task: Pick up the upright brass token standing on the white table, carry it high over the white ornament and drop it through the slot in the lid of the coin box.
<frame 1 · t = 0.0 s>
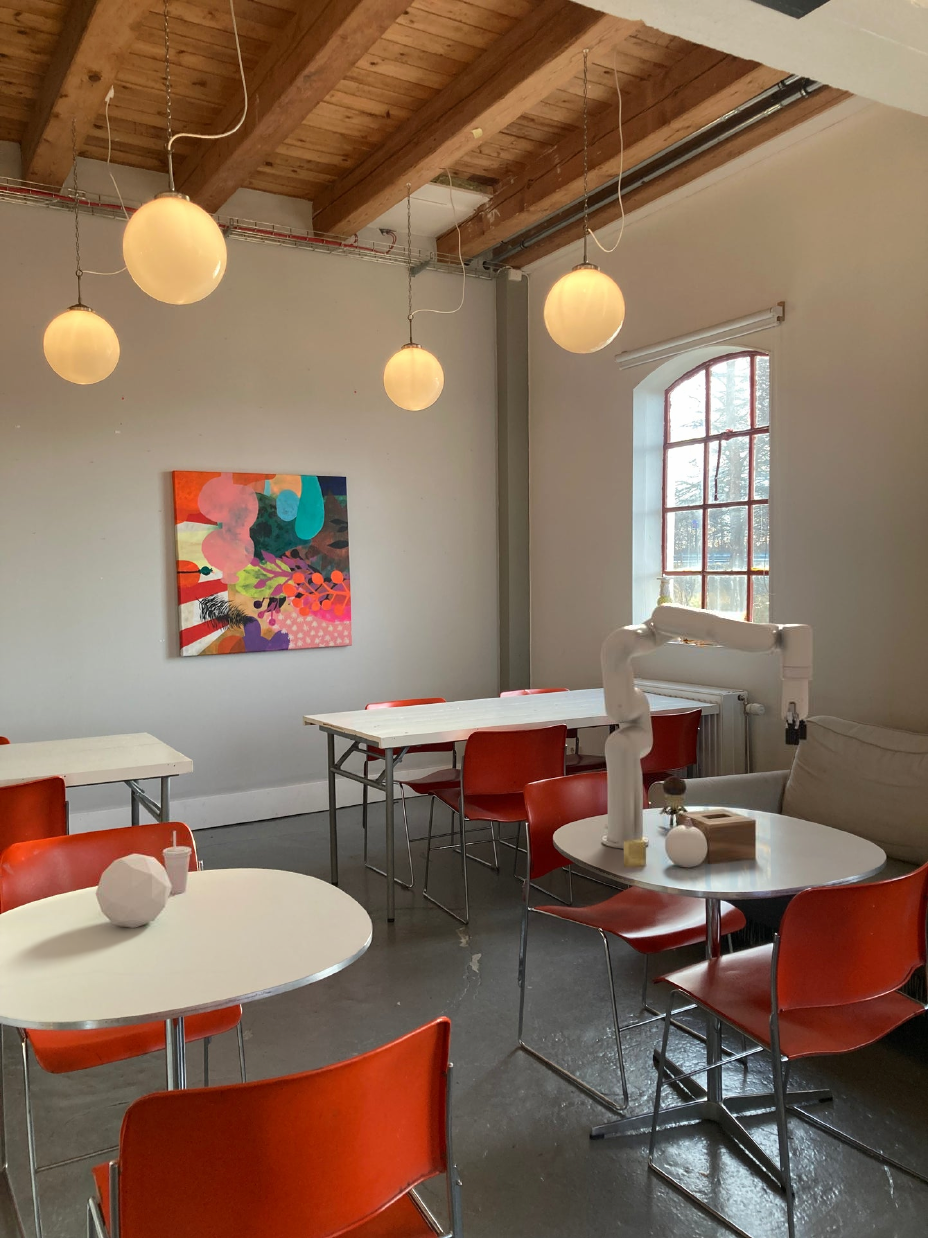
hand: (796, 742, 228), 31 cm above the table, tool pointing down, fingers open, 9 cm apart
coin box: (716, 854, 240), on the table
toy: (674, 825, 271), on the table
smoothie: (177, 892, 211), on the table
ornament: (686, 867, 229), on the table
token: (634, 865, 231), on the table
geometric shape: (134, 924, 190), on the table
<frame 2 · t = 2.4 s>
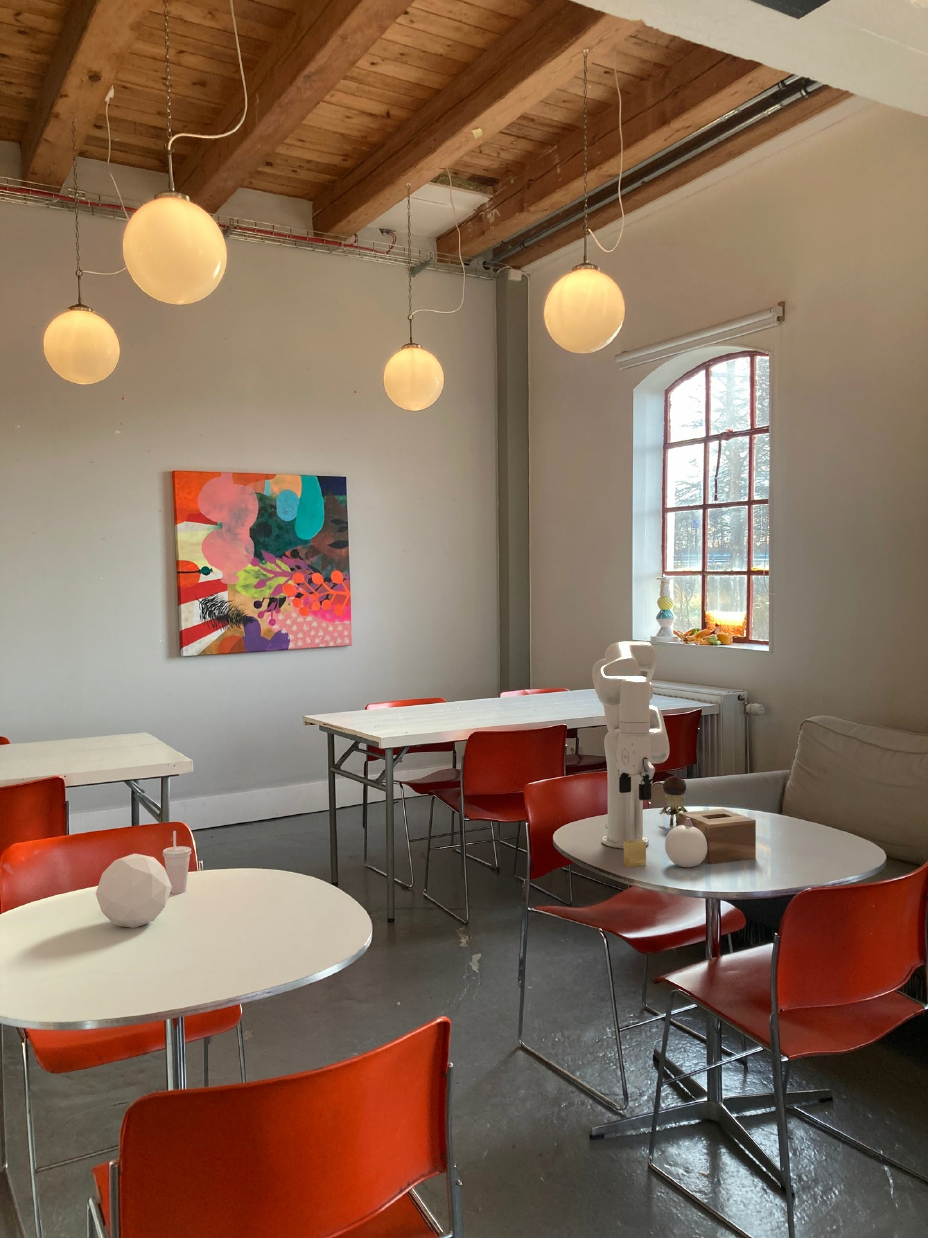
hand: (634, 796, 230), 17 cm above the table, tool pointing down, fingers open, 9 cm apart
nothing on the table moved.
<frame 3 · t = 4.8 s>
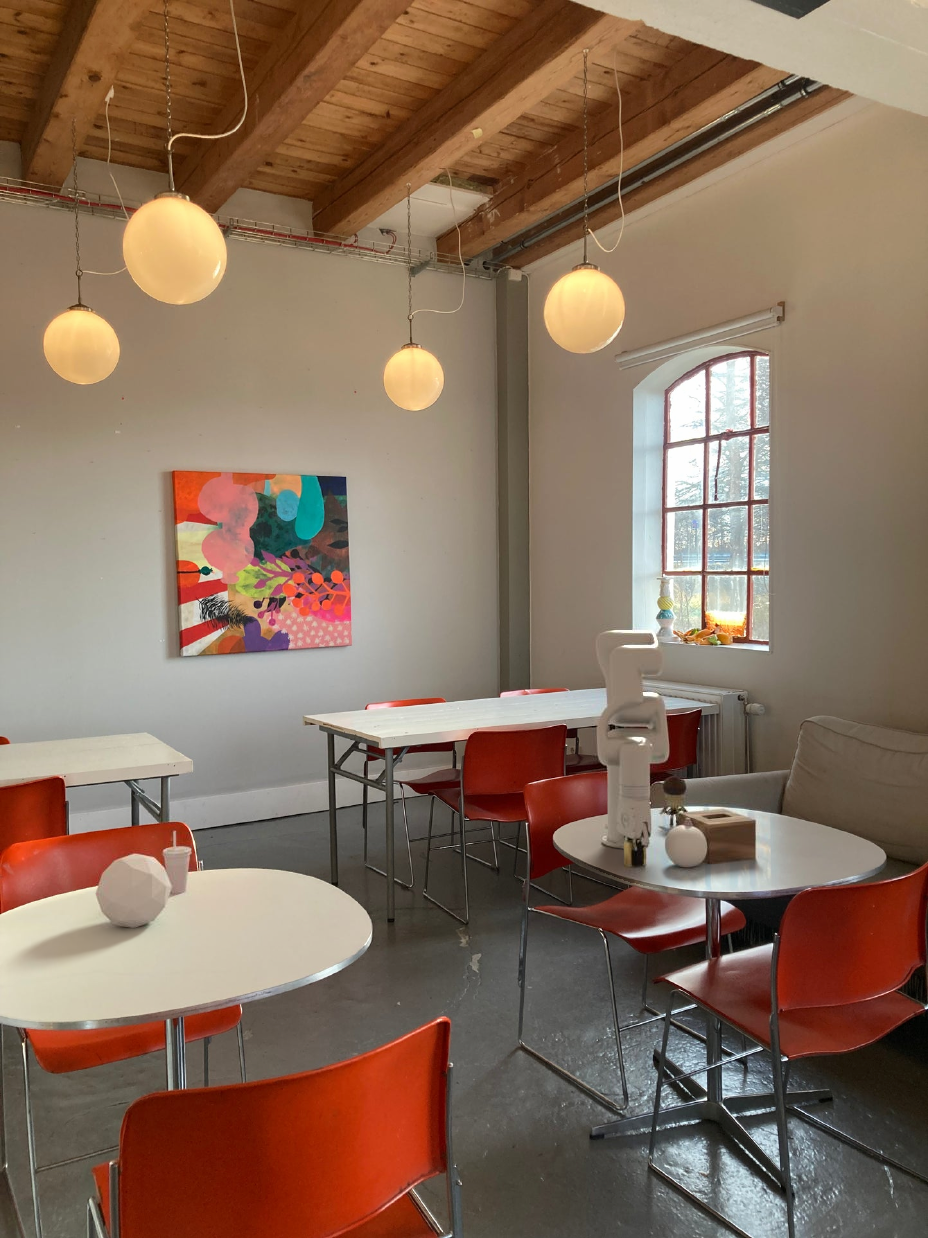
hand: (634, 863, 231), 0 cm above the table, tool pointing down, fingers closed on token, 2 cm apart
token: (635, 864, 231), on the table, touching gripper
everything else where it was.
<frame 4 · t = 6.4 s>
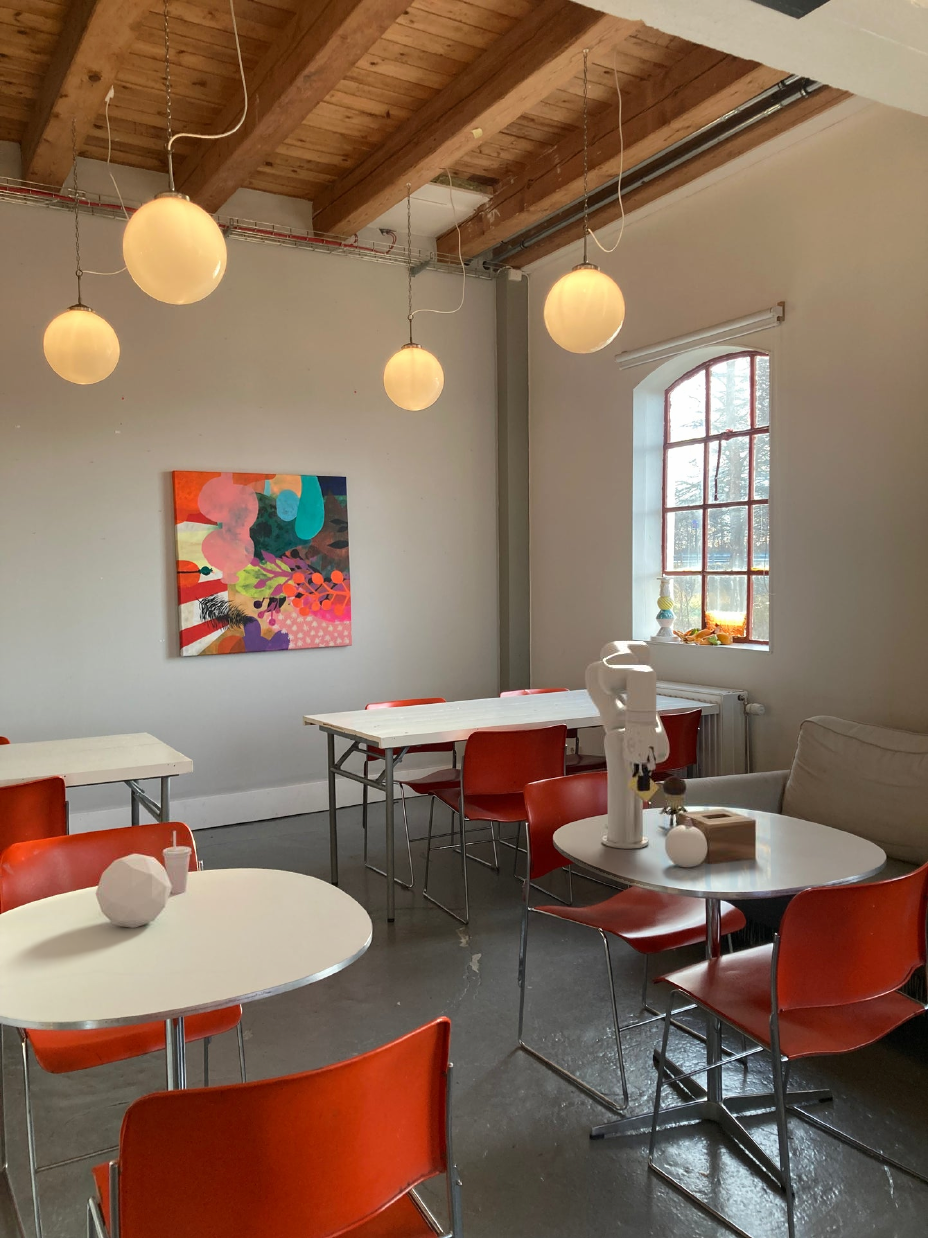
hand: (641, 789, 231), 19 cm above the table, tool pointing down, fingers closed on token
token: (650, 793, 232), point 18 cm above the table, tilted 46°, touching gripper
everything else where it was.
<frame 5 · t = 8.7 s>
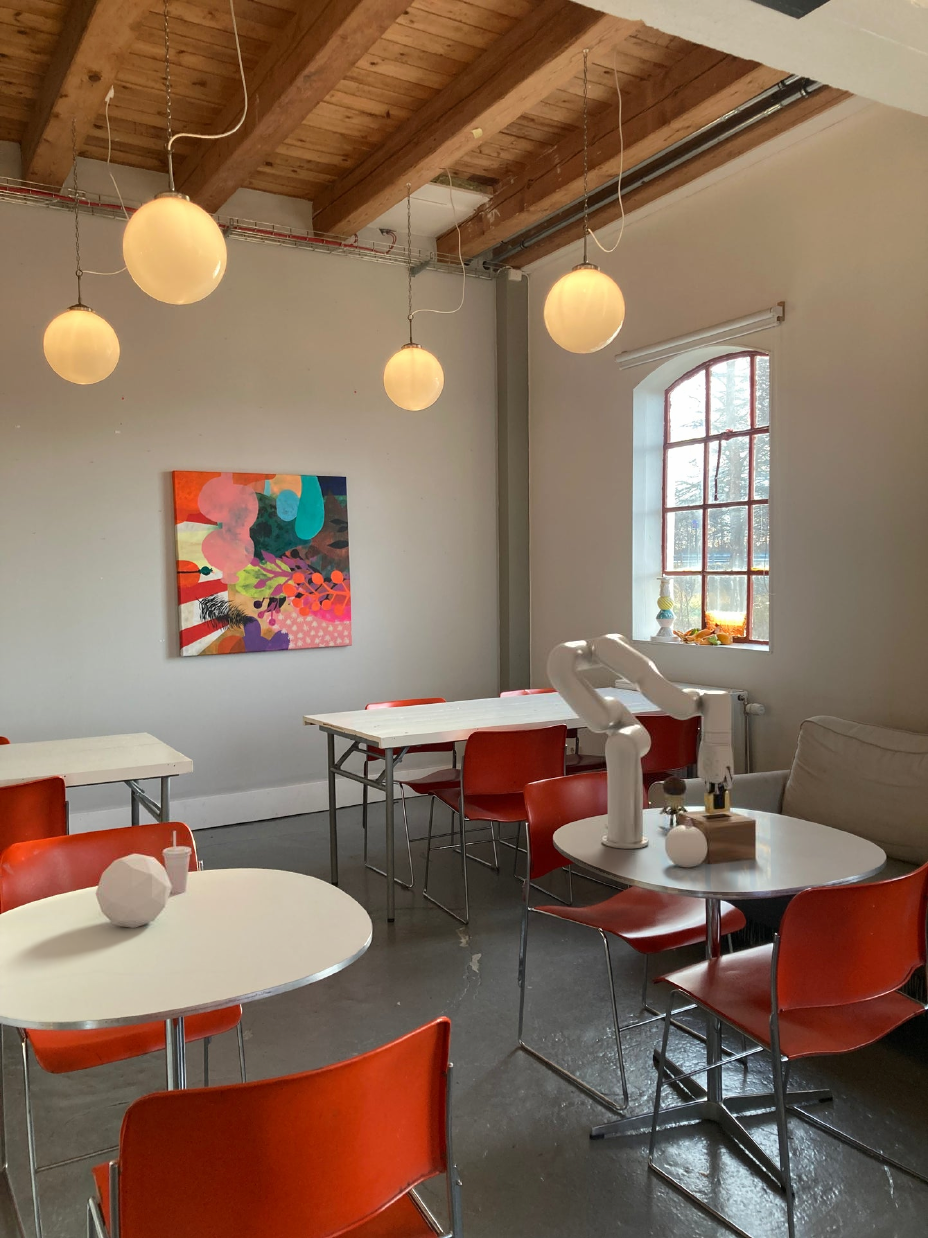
hand: (716, 807, 240), 12 cm above the table, tool pointing down, fingers closed on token
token: (726, 800, 241), point 14 cm above the table, tilted 95°, touching gripper
everything else where it was.
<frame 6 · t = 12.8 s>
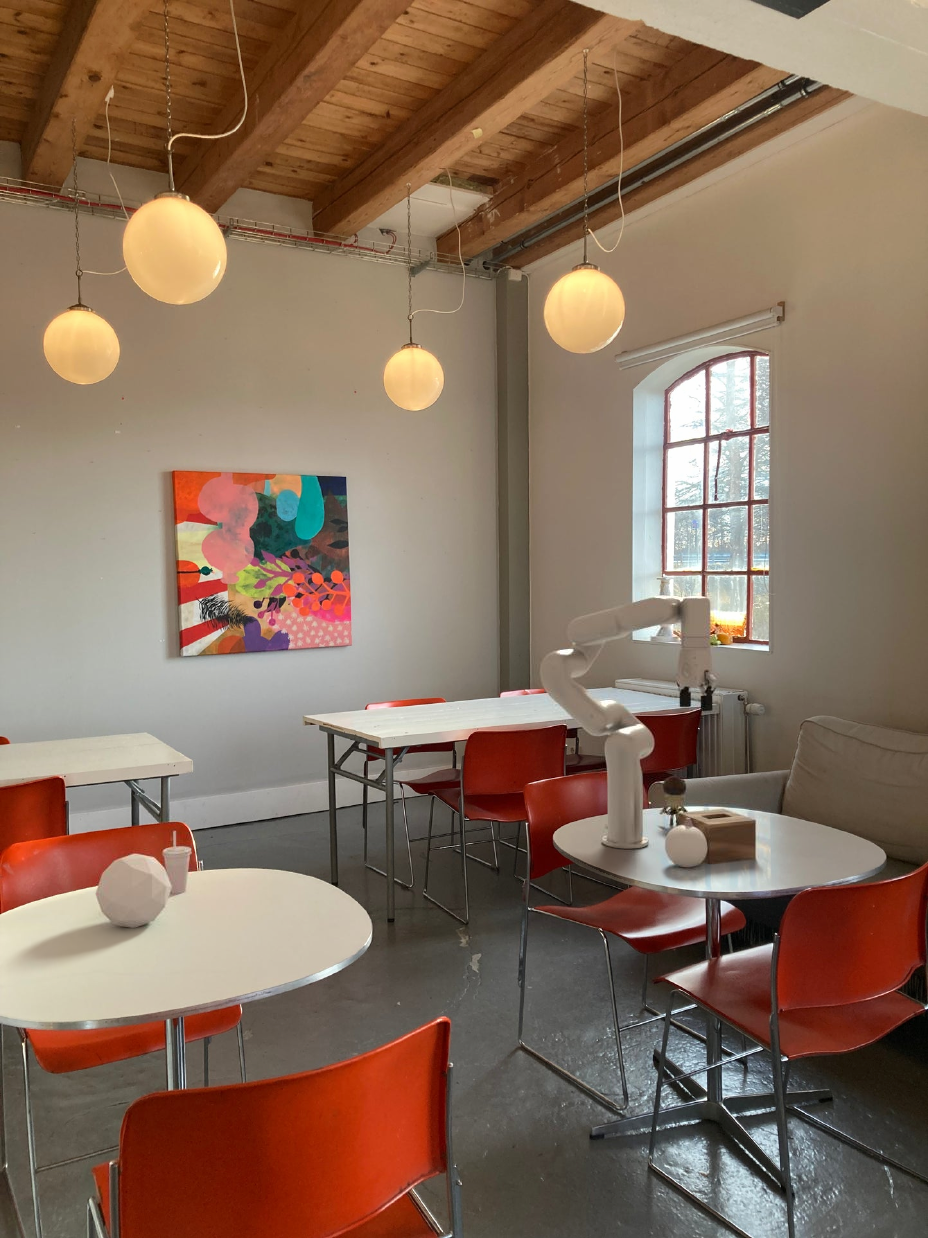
hand: (695, 708, 240), 38 cm above the table, tool pointing down, fingers open, 9 cm apart
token: (728, 841, 241), point 3 cm above the table, tilted 90°, touching coin box
everything else where it was.
at the end: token inside the target area on the coin box (3.4 cm from its centre), point 3.1 cm above the coin box's base; the gripper is holding nothing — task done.
